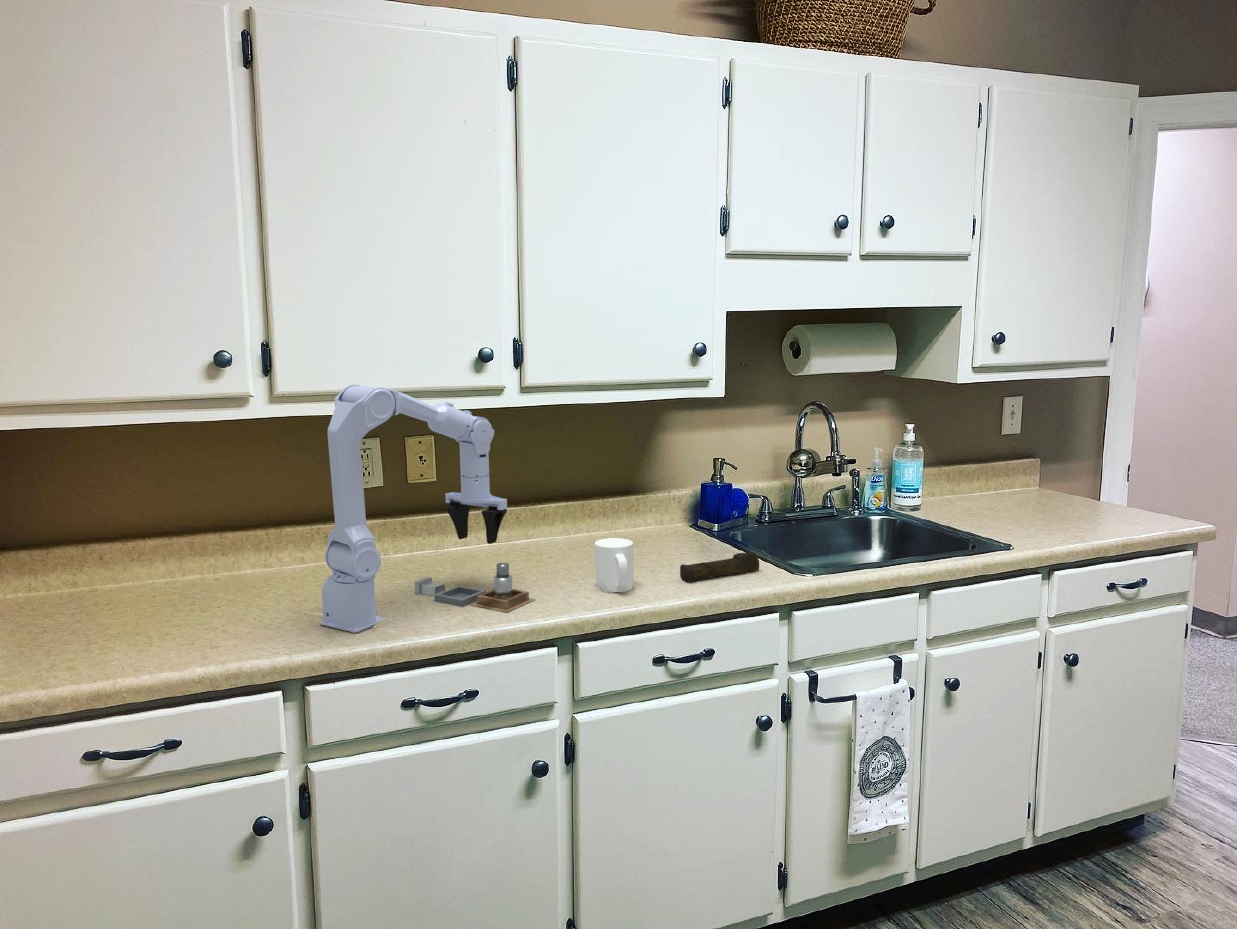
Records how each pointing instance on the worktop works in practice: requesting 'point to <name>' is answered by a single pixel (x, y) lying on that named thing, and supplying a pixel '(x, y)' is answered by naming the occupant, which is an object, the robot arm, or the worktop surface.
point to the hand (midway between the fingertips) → (477, 540)
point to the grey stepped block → (428, 587)
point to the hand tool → (721, 567)
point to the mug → (614, 564)
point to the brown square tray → (503, 601)
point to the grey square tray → (458, 596)
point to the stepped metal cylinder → (502, 582)
